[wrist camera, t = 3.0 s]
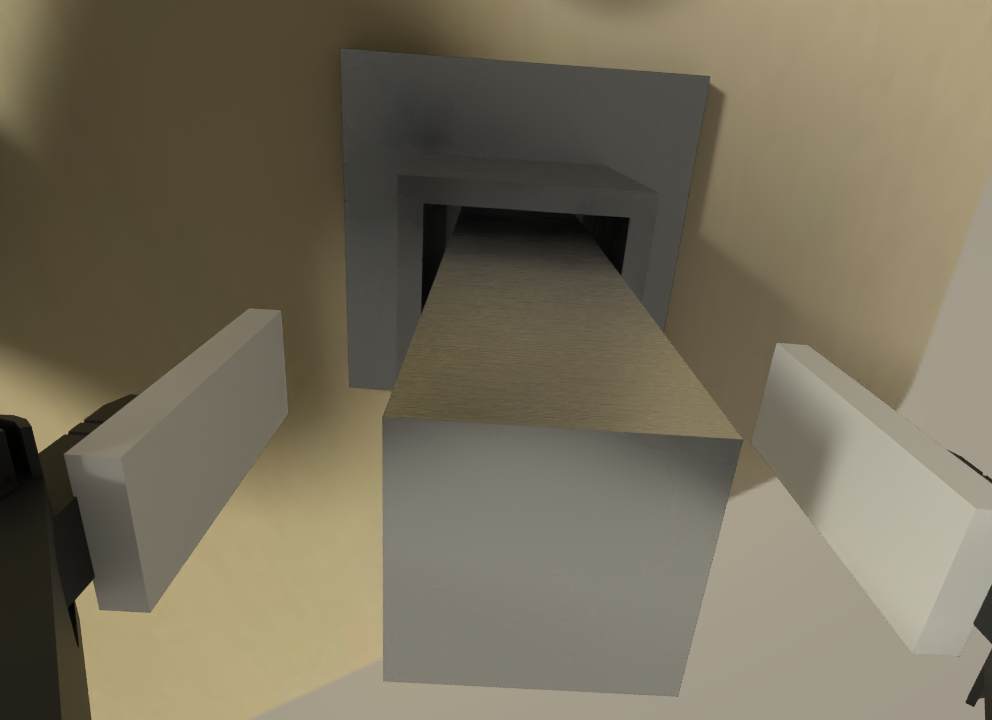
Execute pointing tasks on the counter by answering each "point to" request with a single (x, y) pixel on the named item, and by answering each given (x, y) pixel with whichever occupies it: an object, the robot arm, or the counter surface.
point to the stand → (502, 175)
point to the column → (545, 473)
